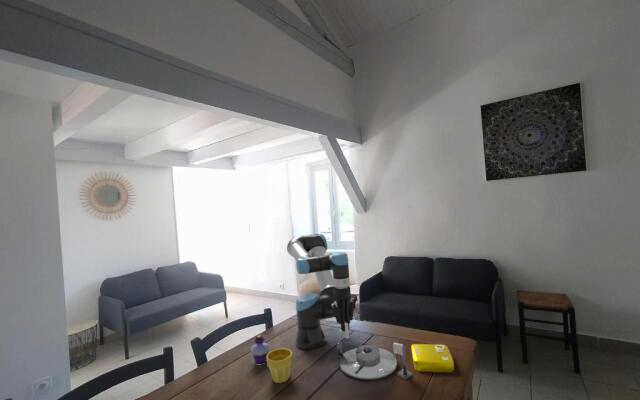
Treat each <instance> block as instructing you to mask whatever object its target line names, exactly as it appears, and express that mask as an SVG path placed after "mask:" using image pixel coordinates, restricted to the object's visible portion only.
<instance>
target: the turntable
mask: <svg viewBox="0 0 640 400" xmlns="http://www.w3.org/2000/svg"><path fill="white" fill-rule="evenodd" d="M357 348H358V347H356V348H352V349H350V350H347V351H345V352H343V343H342V341H341V340H340V341H336V350H337V351H336V353H337V354H336V355H337V358H339V361H338V362H339V368H340V370H341V371H342V372H343V373H344V374H345V375H347V376H349V377H351V378H354V379H358V380H359V379H360V380H366V381H367V380H378V379H382V378H385V377H389V376H390V375H392V374H393V373H394V372H396V371H395V370H396V369H397V366H398V361H397V357H395V358H394V353H392V352H391V351H389V350H387V349H384V348H382V347H381V348H380V347H378V348H379V350H380V363H379V364H377V365H375V366H370V367H367V366H362V365H360V364H358V363H357V359H356V349H357Z"/></svg>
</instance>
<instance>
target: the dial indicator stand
mask: <svg viewBox="0 0 640 400" xmlns="http://www.w3.org/2000/svg"><path fill="white" fill-rule="evenodd" d="M392 347H393V348H392V350H393V355H394V358H395V357H396V354H397V355H400V357H401V359H400V360H401V367H402V369H401V370H400V371H397V376H398V377H400V378H402V379H403V380H405V381H406V380H408V379H409V378H411V377H413V376H414V375H413V372H412V371H409V370H408V369H407V359H406V348H405V346H404V344H403V343H398V342H393V343H392ZM396 358H397V357H396Z"/></svg>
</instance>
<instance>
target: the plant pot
mask: <svg viewBox="0 0 640 400" xmlns="http://www.w3.org/2000/svg"><path fill="white" fill-rule="evenodd" d="M266 358H267V363H266V366H267V367H268V368H269V370H270V373H271V374H270V375H271V378H272V380H273V382H274V383H276V384H282V382H283V383H286V382H288V380H289V378H290V373H291V367H292V363H293V351H292V350H291V349H290V348H285V347H283V348H282V347H281V348H276V349H273V350H271V351H269V353H268V355H267V357H266Z"/></svg>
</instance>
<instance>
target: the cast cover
mask: <svg viewBox="0 0 640 400" xmlns="http://www.w3.org/2000/svg"><path fill="white" fill-rule="evenodd" d="M356 348H357V349H356V359H357V363H358V364H360V365H362V366H367V367H370V366H375V365H377V364H379V363H380V350H379V348H380V347H377V346H376V345H371V344H365V345H363V344H362V345H361V346H359V347H356Z"/></svg>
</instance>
